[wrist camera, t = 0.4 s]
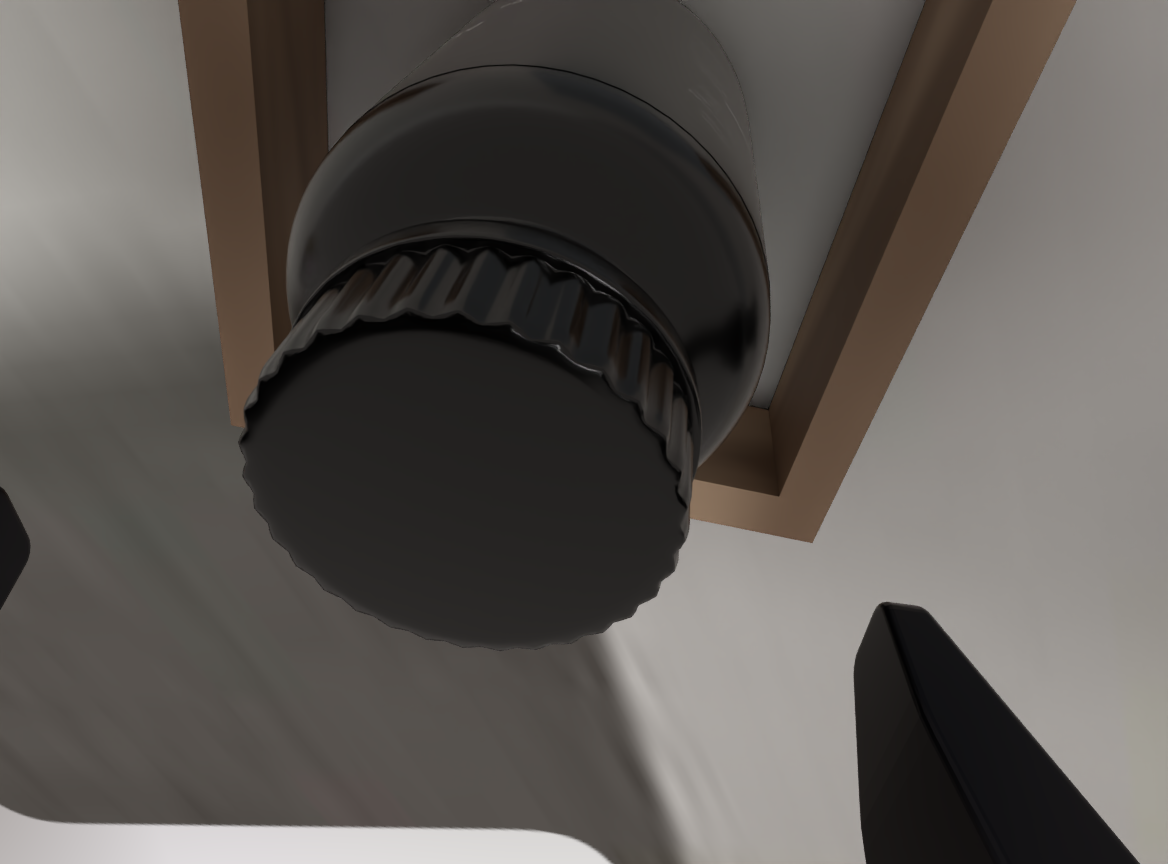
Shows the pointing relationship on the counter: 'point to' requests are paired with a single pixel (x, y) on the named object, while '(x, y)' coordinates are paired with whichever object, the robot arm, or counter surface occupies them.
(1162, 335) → the counter surface
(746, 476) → the walnut frame
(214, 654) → the counter surface
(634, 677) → the counter surface
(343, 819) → the counter surface
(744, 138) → the supplement bottle
